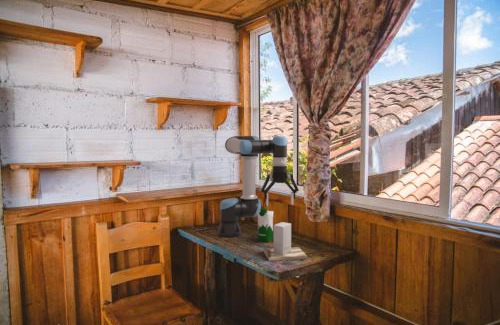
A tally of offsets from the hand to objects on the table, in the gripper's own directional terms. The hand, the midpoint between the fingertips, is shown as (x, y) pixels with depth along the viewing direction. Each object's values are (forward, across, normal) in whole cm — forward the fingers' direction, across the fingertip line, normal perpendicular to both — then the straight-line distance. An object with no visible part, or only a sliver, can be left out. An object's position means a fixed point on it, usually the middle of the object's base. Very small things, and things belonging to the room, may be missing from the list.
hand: (279, 205), depth 193 cm
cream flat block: (+27, +2, -2) cm, 27 cm away
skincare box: (+26, +1, -2) cm, 26 cm away
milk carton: (+28, -2, +28) cm, 40 cm away
